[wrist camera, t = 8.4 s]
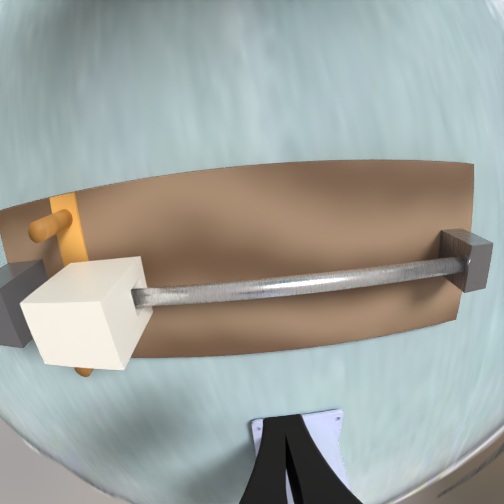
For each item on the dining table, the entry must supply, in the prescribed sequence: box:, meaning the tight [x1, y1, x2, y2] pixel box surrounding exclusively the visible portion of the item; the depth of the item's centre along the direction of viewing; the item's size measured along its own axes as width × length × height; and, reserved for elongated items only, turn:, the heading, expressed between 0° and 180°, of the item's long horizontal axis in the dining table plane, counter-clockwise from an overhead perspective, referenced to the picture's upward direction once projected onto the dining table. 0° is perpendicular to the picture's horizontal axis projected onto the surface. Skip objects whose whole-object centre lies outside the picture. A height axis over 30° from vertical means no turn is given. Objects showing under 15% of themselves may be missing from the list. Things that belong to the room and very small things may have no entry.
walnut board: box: [0, 160, 474, 377], centre depth 17 cm, size 12×34×4 cm, turn 95°
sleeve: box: [20, 256, 153, 370], centre depth 14 cm, size 4×5×6 cm
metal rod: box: [28, 228, 493, 307], centre depth 17 cm, size 3×29×4 cm, turn 95°
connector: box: [0, 259, 48, 348], centre depth 16 cm, size 4×4×5 cm
